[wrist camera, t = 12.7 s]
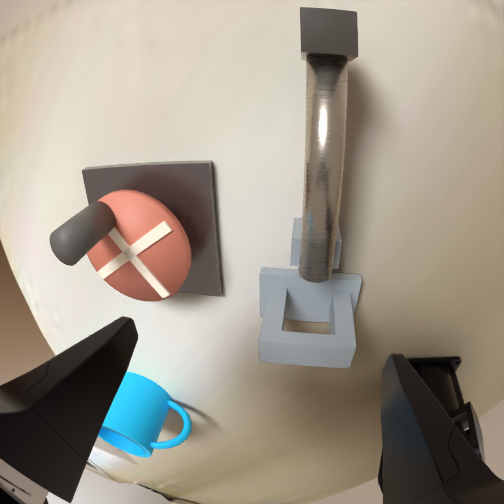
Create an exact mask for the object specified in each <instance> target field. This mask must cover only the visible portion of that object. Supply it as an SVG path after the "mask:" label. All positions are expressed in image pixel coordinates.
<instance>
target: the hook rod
mask: <svg viewBox="0 0 504 504" xmlns="http://www.w3.org/2000/svg"><path fill="white" fill-rule="evenodd" d="M300 25H301V56H302V60H306V142H305V172H304V195H303V214H302V231H301V246H300V260H299V275H300V277H301V278H302V279H304V280H306V281H308V282H312V283H322V282H325V281H327V280H329V279H330V277H331V273H332V266H333V259H334V252H335V245H336V237H337V228H338V220H339V211H340V201H341V191H342V180H343V168H344V154H345V139H346V119H347V87H348V62H350V61H352V60H353V59H355V58H357V57H358V29H357V12H354V11H346V10H336V9H324V8H305V7H300Z"/></svg>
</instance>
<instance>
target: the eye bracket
mask: <svg viewBox="0 0 504 504" xmlns="http://www.w3.org/2000/svg"><path fill="white" fill-rule="evenodd" d="M301 231H302V219H300V218H294V224H293V233H292V246H291V265H290V266H299V260H300V246H301ZM341 245H342V239H341V234H340V228H339V223H338V228H337V237H336V245H335V252H334V259H333V266H332V268H333V269H338V266H339V259H340V252H341ZM361 283H362V279H361V274H346V273H331V277H330V279H329V280H327V281H325V282H322V283H312V282H308V281H306V280H304V279H302V278H301V277H300V275H299V270H289V269H276V268H263V267H261V271H260V317H263V322H262V327H261V331H260V336H259V362H267V363H277V364H288V365H300V366H315V367H333V368H349V367H350V365H351V362H352V359H353V356H354V353H355V349H356V339H355V330H354V321H353V317H354V313H355V309H356V305H357V300H358V296H359V292H360V288H361ZM284 319H286V320H298V321H312V322H327V323H329V325H330V334H314V333H300V332H288V331H283V326H284Z"/></svg>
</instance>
